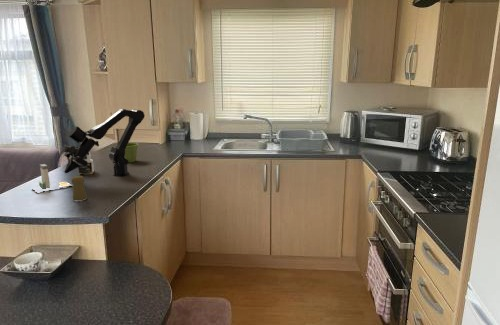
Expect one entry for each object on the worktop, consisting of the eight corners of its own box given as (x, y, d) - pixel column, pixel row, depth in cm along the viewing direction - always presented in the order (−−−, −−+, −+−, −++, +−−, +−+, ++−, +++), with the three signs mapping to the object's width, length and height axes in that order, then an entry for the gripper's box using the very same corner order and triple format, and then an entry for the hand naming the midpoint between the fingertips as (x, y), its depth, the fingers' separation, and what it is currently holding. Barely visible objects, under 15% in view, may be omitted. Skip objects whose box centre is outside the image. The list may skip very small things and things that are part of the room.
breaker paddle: (47, 185, 183) (44, 163, 181) (50, 187, 180) (47, 165, 177) (42, 186, 182) (39, 164, 179) (45, 188, 178) (42, 166, 176)
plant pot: (116, 162, 236) (115, 145, 233) (130, 158, 246) (129, 142, 244) (130, 164, 231) (128, 146, 228) (143, 160, 241) (142, 143, 238)
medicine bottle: (79, 174, 207) (76, 154, 204) (81, 171, 213) (78, 151, 210) (92, 174, 208) (90, 153, 206) (94, 170, 215) (92, 151, 212)
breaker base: (65, 182, 191) (65, 175, 190) (72, 186, 184) (71, 179, 183) (31, 189, 181) (30, 181, 180) (37, 193, 174) (35, 186, 173)
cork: (89, 197, 168) (87, 174, 165) (84, 202, 162) (81, 178, 159) (76, 197, 167) (73, 174, 165) (70, 202, 162) (67, 178, 159)
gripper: (65, 136, 192) (45, 161, 187) (78, 141, 178) (57, 167, 174) (83, 149, 199) (64, 172, 194) (96, 154, 186) (76, 179, 181)
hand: (65, 172), depth 186 cm, fingers closed
